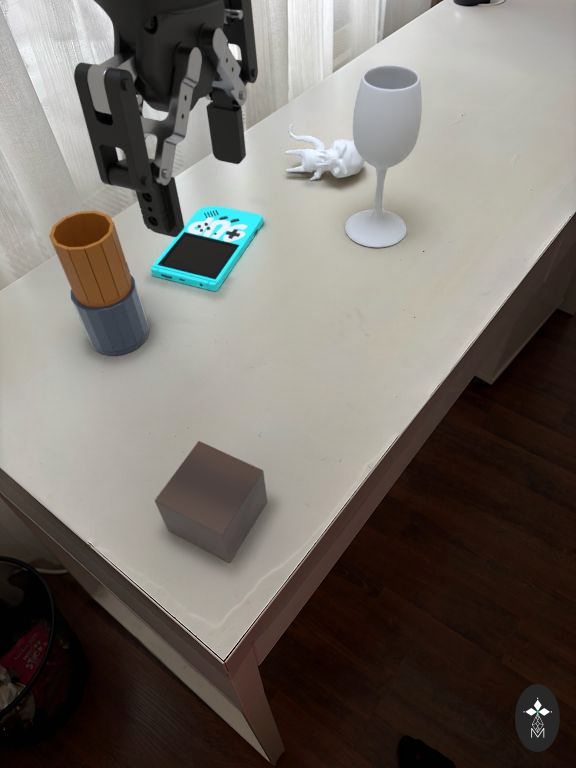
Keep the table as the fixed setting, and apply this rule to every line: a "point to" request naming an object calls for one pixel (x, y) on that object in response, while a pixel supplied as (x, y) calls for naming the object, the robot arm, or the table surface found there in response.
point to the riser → (213, 500)
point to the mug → (115, 324)
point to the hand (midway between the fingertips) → (200, 193)
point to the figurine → (327, 157)
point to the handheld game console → (208, 247)
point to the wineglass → (384, 143)
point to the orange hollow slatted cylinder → (92, 258)
